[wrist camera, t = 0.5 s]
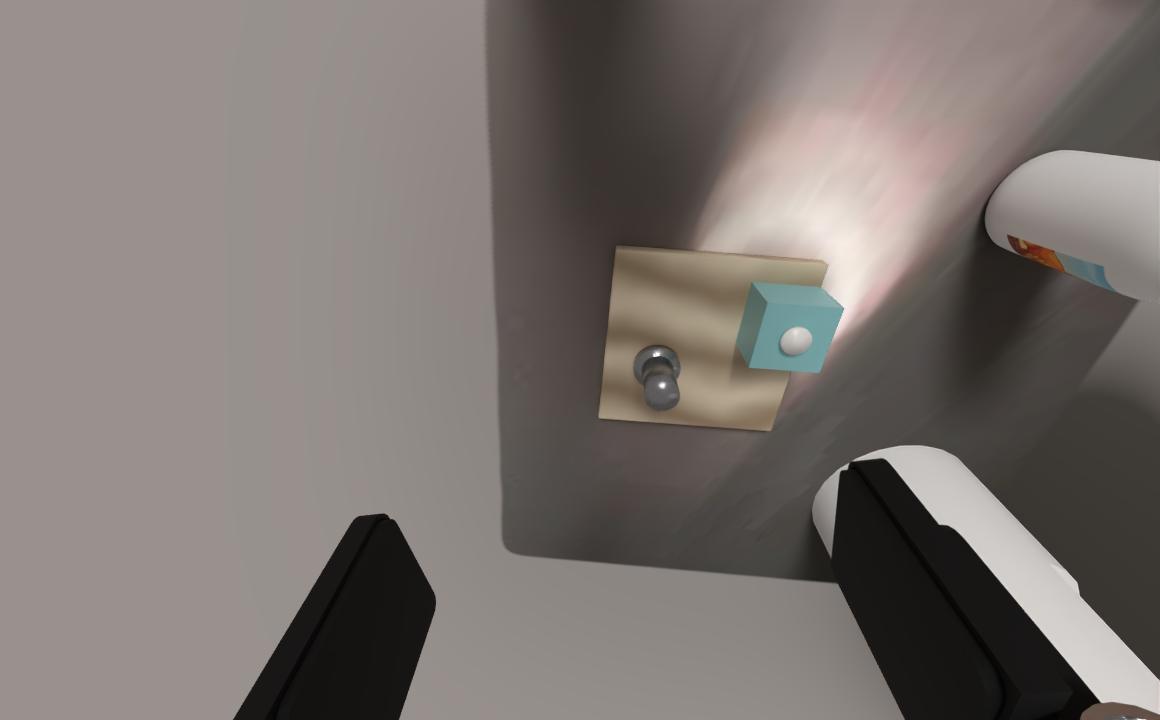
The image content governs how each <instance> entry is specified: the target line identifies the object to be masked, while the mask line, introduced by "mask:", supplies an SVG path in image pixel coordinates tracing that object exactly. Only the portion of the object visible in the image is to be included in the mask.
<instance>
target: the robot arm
mask: <svg viewBox="0 0 1160 720" xmlns="http://www.w3.org/2000/svg"><path fill="white" fill-rule="evenodd" d="M831 564H832V569H833V573H834V576H835V578H836V581H837V583H838V585H839V587H840V588H841V591H842V592H843V595H844V597H845V599H846V601H847V603H848V605H849V607H850V609H851V611H852V613H853V615H854V617H855V619H856V621H857V623H858V625H859V627H860V629H861V631H862V633H863V635H864V637H865V639H866V642H867V644H868V646H869V647H870V649H871V652H872V654H873V656H874V658H875V660H876V662H877V664H878V666H879V668H880V670H881V672H882V674H883V676H884V678H885V680H886V682H887V684H888V686H889V688H890V690H891V692H892V694H893V696H894V698H895V700H896V702H897V704H898V707H899V709H900V711H901V713H902V715H903V716H904V718H905V720H1160V714H1157V713H1155V712H1152V711H1149V710H1146V709H1144V708H1141V707H1138V706H1135V705H1129V704H1123V703H1117V702H1107V703H1101V702H1100V700H1099V699H1098V698H1097V697H1096V696H1095V695H1094V693H1093V692H1092V691H1091V690H1090V689H1089V687H1088V686H1087V685H1086V684H1085V683H1084V681H1083V680H1082V679H1081V678H1080V677H1079V675H1078V674H1077V673H1076V672H1075V671H1074V669H1073V668H1072V667H1071V666H1070V665H1069V663H1068V662H1067V661H1066V660H1065V659H1064V657H1063V656H1062V655H1061V654H1060V653H1059V651H1058V650H1057V649H1056V648H1055V647H1054V645H1053V644H1052V643H1051V642H1050V641H1049V639H1048V638H1047V637H1046V636H1045V635H1044V633H1043V632H1042V631H1041V630H1040V629H1039V627H1038V626H1037V625H1036V624H1035V623H1034V621H1033V620H1032V619H1031V618H1030V617H1029V615H1028V614H1027V613H1026V612H1025V611H1024V610H1023V608H1022V607H1021V606H1020V605H1019V604H1018V602H1017V601H1016V600H1015V599H1014V598H1013V596H1012V595H1011V594H1010V593H1009V592H1008V590H1007V589H1006V588H1005V587H1004V586H1003V584H1002V583H1001V582H1000V581H999V580H998V578H997V577H996V576H995V575H994V574H993V572H992V571H991V570H990V569H989V568H988V566H987V565H986V564H985V563H984V562H983V560H982V559H981V558H980V557H979V556H978V554H977V553H976V552H975V551H974V550H973V548H972V547H971V546H970V545H969V544H968V542H967V541H966V540H965V539H964V538H963V537H962V536H961V535H960V534H959V533H958V532H957V531H956V530H955V529H953V528H952V527H950V526H948V525H939V524H938V523H937V521H936V520H935V519H934V518H933V516H932V515H931V514H930V513H929V511H928V510H927V509H926V508H925V506H924V505H923V504H922V503H921V501H920V500H919V499H918V498H917V496H916V495H915V494H914V493H913V491H912V490H911V489H910V488H909V486H908V485H907V484H906V483H905V481H904V480H903V479H902V478H901V476H900V475H899V474H898V473H897V471H896V470H895V469H894V468H893V467H892V465H891V464H890V463H889V462H888V461H887V460H886V459H884V458H878V459H869V460H860V461H852V462H850V463H849V465H848V470H841V472H840V475H839V484H838V494H837V505H836V515H835V525H834V535H833V546H832V556H831ZM435 607H436V598H435V594H434V592H433V590H432V588H431V586H430V584H429V582H428V581H427V579H426V577H425V575H424V573H423V571H422V570H421V567H420V566H419V564H418V562H417V560H416V558H415V556H414V554H413V552H412V551H411V549H410V547H409V545H408V543H407V541H406V539H405V538H404V536H403V534H402V532H401V530H400V528H399V526H398V524H397V523H396V522H395V520H393V519H390V518H389V517H388V515H386V514H374V515H365V516H358V517H357V518H355V519H354V520H353V522H352V523H351V525H350V526H349V528H348V530H347V531H346V533H345V535H344V536H343V538H342V540H341V541H340V543H339V544H338V546H337V548H336V549H335V551H334V553H333V555H332V556H331V558H330V559H329V561H328V563H327V565H326V566H325V568H324V569H323V571H322V573H321V575H320V576H319V578H318V580H317V581H316V583H315V585H314V586H313V588H312V589H311V591H310V593H309V595H308V596H307V598H306V600H305V601H304V603H303V604H302V606H301V608H300V610H299V611H298V613H297V614H296V616H295V618H294V619H293V621H292V623H291V624H290V626H289V628H288V629H287V631H286V633H285V634H284V636H283V638H282V639H281V641H280V643H279V644H278V646H277V648H276V649H275V651H274V653H273V654H272V656H271V658H270V659H269V661H268V663H267V664H266V666H265V668H264V669H263V671H262V673H261V674H260V676H259V677H258V679H257V681H256V682H255V684H254V686H253V687H252V689H251V691H250V692H249V694H248V696H247V697H246V699H245V701H244V703H243V704H242V706H241V708H240V709H239V711H238V712H237V714H236V716H235V717H234V719H233V720H399V718H400V715H401V712H402V709H403V706H404V703H405V700H406V697H407V694H408V691H409V687H410V685H411V682H412V679H413V676H414V673H415V670H416V667H417V663H418V661H419V657H420V654H421V651H422V648H423V645H424V642H425V639H426V636H427V633H428V630H429V627H430V624H431V621H432V618H433V615H434V612H435Z"/></svg>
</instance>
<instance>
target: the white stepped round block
mask: <svg viewBox="0 0 1160 720" xmlns="http://www.w3.org/2000/svg"><path fill="white" fill-rule="evenodd" d="M878 458H884V459H886V460H887V461H888V462H889V463H890V464H891V465H892V467H893V468H894V469H895V470H896V471H897V473H898V474H899V475H900V476H901V478H902V479H903V480H904V481H905V483H906V484H907V485H908V486H909V488H910V489H911V490H912V491H913V493H914V494H915V495H916V496H917V498H918V499H919V500H920V501H921V503H922V504H923V505H924V506H925V508H926V509H927V510H928V511H929V513H930V514H931V515H932V516H933V518H934V519H935V520H936V521H937V523H938V524H939V525H948V526H950V527H952V528H953V529H955V530H956V531H957V532H958V533H959V534H960V535H961V536H962V537H963V538H964V539H965V540H966V541H967V542H968V544H969V545H970V546H971V547H972V548H973V550H974V551H975V552H976V553H977V554H978V556H979V557H980V558H981V559H982V560H983V562H984V563H985V564H986V565H987V566H988V568H989V569H990V570H991V571H992V572H993V574H994V575H995V576H996V577H997V578H998V580H999V581H1000V582H1001V583H1002V584H1003V586H1004V587H1005V588H1006V589H1007V590H1008V592H1009V593H1010V594H1011V595H1012V596H1013V598H1014V599H1015V600H1016V601H1017V602H1018V604H1019V605H1020V606H1021V607H1022V608H1023V610H1024V611H1025V612H1026V613H1027V614H1028V615H1029V617H1030V618H1031V619H1032V620H1033V621H1034V623H1035V624H1036V625H1037V626H1038V627H1039V629H1040V630H1041V631H1042V632H1043V633H1044V635H1045V636H1046V637H1047V638H1048V639H1049V641H1050V642H1051V643H1052V644H1053V645H1054V647H1055V648H1056V649H1057V650H1058V651H1059V653H1060V654H1061V655H1062V656H1063V657H1064V659H1065V660H1066V661H1067V662H1068V663H1069V665H1070V666H1071V667H1072V668H1073V669H1074V671H1075V672H1076V673H1077V674H1078V675H1079V677H1080V678H1081V679H1082V680H1083V681H1084V683H1085V684H1086V685H1087V686H1088V687H1089V689H1090V690H1091V691H1092V692H1093V693H1094V695H1095V696H1096V697H1097V698H1098V699H1099V700H1100V702H1101V703H1107V702H1117V703H1123V704H1129V705H1135V706H1138V707H1141V708H1144V709H1146V710H1149V711H1152V712H1155V713H1157V714H1160V681H1159V680H1158V679H1157V678H1156V677H1155V675H1154V674H1153V673H1152V672H1151V671H1150V670H1149V669H1148V668H1147V667H1146V666H1145V665H1144V664H1143V663H1142V662H1141V661H1140V660H1139V658H1137V657H1136V655H1135V654H1134V653H1133V652H1132V651H1131V650H1130V649H1129V648H1128V647H1127V646H1126V645H1125V644H1124V643H1123V642H1122V640H1121V639H1120V638H1119V637H1118V636H1117V635H1116V634H1115V633H1114V632H1113V631H1112V630H1111V629H1110V628H1109V627H1108V626H1107V625H1106V623H1104V621H1103V620H1102V619H1101V618H1100V617H1099V616H1098V615H1097V614H1096V613H1095V612H1094V611H1093V610H1092V609H1091V608H1090V606H1089V605H1088V604H1087V603H1086V602H1085V601H1084V600H1083V599H1082V598H1081V597H1080V595H1079V589H1078V584H1077V582H1076V581H1075V580H1074V579H1073V578H1072V577H1071V576H1070V575H1069V573H1068V572H1067V571H1066V570H1065V569H1064V568H1063V567H1062V566H1061V565H1060V564H1059V563H1058V562H1057V561H1056V560H1055V559H1054V558H1053V557H1052V556H1051V554H1050V553H1049V552H1048V551H1047V550H1046V549H1045V548H1044V547H1043V546H1042V545H1041V544H1040V543H1039V542H1038V541H1037V540H1036V539H1035V538H1034V537H1033V536H1032V535H1031V534H1030V533H1029V532H1028V531H1027V530H1026V529H1025V528H1024V527H1023V525H1022V524H1021V523H1020V522H1019V521H1018V520H1017V519H1016V518H1015V517H1014V516H1013V515H1012V514H1011V513H1010V512H1009V511H1008V510H1007V509H1006V508H1005V507H1004V506H1003V505H1002V504H1001V503H1000V502H999V501H998V499H997V498H996V497H995V496H994V495H993V494H992V493H991V492H990V491H989V490H988V489H987V488H986V487H985V486H984V485H983V484H982V483H981V482H980V481H979V480H978V479H977V478H976V477H975V476H974V475H973V474H972V473H971V471H970V470H969V469H968V468H967V467H966V466H965V465H964V464H963V463H962V462H961V461H960V460H959V459H958V458H957V457H955V456H953V455H951V454H950V453H948V452H946V451H944V450H942V449H937V448H932V447H927V446H897V447H892V448H887V449H882V450H877V451H875V452H872V453H869V454H867V455H864V456H861V457H859V458H856V459H855V460H853V461H860V460H869V459H878ZM851 462H852V461H851ZM848 465H849V463H848V464H846V465H845V466H843V467H841V468H840V469H838V470H837V471H836V472H835V473H834V474H833V475H832V476H831V477H829V478H828V479H827V480H826V481H825V482H824V484H823V485H822V487H821V488H820V490H819V491H818V493H817V494H816V496H815V499H814V503H813V506H812V515H813V522H814V524H815V526H816V528H817V530H818V532H819V534H820V536H821V538H822V540H823V543H824V545H825V547H826V549H827V551H828V553H829V555H830V557H831V556H832V546H833V535H834V525H835V515H836V505H837V494H838V484H839V475H840V472H841V470H848Z"/></svg>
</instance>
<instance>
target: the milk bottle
mask: <svg viewBox="0 0 1160 720" xmlns="http://www.w3.org/2000/svg"><path fill="white" fill-rule="evenodd" d="M985 227H986V230H987V233H988V235H989V236H990V238H991V239H992V241H993V242H994V243H995V244H997V245H998V246H1000V247H1002V248H1004V249H1006V250H1009V251H1011V252H1013V253H1016V254H1018V255H1021V256H1023V257H1026V258H1028V259H1031V260H1033V261H1036V262H1038V263H1041V264H1043V265H1046V266H1049V267H1051V268H1054V269H1056V270H1059V271H1061V272H1064V273H1066V274H1069V275H1072V276H1074V277H1077V278H1079V279H1082V280H1085V281H1087V282H1090V283H1092V284H1095V285H1098V286H1100V287H1103V288H1106V289H1108V290H1111V291H1114V292H1117V293H1120V294H1123V295H1126V296H1129V297H1132V298H1135V299H1138V300H1142V301H1146V302H1151V303H1155V304H1160V161H1153V160H1145V159H1137V158H1130V157H1122V156H1115V155H1107V154H1099V153H1091V152H1082V151H1071V150H1060V151H1054V152H1049V153H1046V154H1043V155H1040V156H1038V157H1035V158H1033V159H1030V160H1029V161H1027V162H1025V163H1024V164H1022V165H1020V166H1019V167H1017V168H1016V169H1015V170H1014V171H1012V172H1011V173H1010V174H1009V175H1008V176H1007V177H1006V178H1005V179H1004V180H1003V181H1002V182H1001V183H1000V184H999V186H998V187H997V188H996V189H995V191H994V193H993V195H992V196H991V198H990V200H989V203H988V205H987V208H986V213H985Z"/></svg>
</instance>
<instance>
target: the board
mask: <svg viewBox="0 0 1160 720" xmlns="http://www.w3.org/2000/svg"><path fill="white" fill-rule="evenodd" d="M827 268H828V264H827V263H826V262H824V261H823V260H812V259H799V258H785V257H771V256H758V255H744V254H731V253H717V252H703V251H690V250H676V249H663V248H649V247H636V246H622V245H616V249H615V258H614V268H613V278H612V287H611V297H610V307H609V316H608V326H607V336H606V346H605V355H604V365H603V375H602V384H601V394H600V404H599V418H602V419H616V420H629V421H642V422H656V423H669V424H682V425H696V426H709V427H722V428H736V429H749V430H762V431H771V429H772V426H773V423H774V420H775V417H776V414H777V412H778V409H779V406H780V403H781V400H782V397H783V394H784V391H785V389H786V386H787V383H788V380H789V377H790V374H791V371H787V370H773V369H760V368H749V367H748V365H747V363H746V361H745V359H744V358H743V356H742V354H741V352H740V350H739V348H738V346H737V344H736V339H737V336H738V332H739V328H740V324H741V321H742V317H743V313H744V309H745V305H746V302H747V298H748V294H749V290H750V287H751V283H752V282H759V283H773V284H787V285H800V286H814V287H821V285H822V282H823V279H824V276H825V273H826V271H827ZM650 345H665V346H667V347H669V348H671V349H672V350H674V351H675V353H676V354H677V356H678V358H679V362H680V366H681V371H680V375H679V377H678V378H677V384H678V388H679V392H680V400H679V402H678V404H677V405H676V406H675V407H674V408H672V409H670V410H667V411H656V410H654V409H652V408H650V407H649V406H648V405H647V403H646V400H645V394H644V387H643V385H641V384H640V383H639V382H638V381H637V379H636V378H635V375H634V367H633V363H634V359H635V357H636V355H637V354H638V353H639V352H640V351H641V350H642V349H644V348H645V347H647V346H650Z"/></svg>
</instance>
